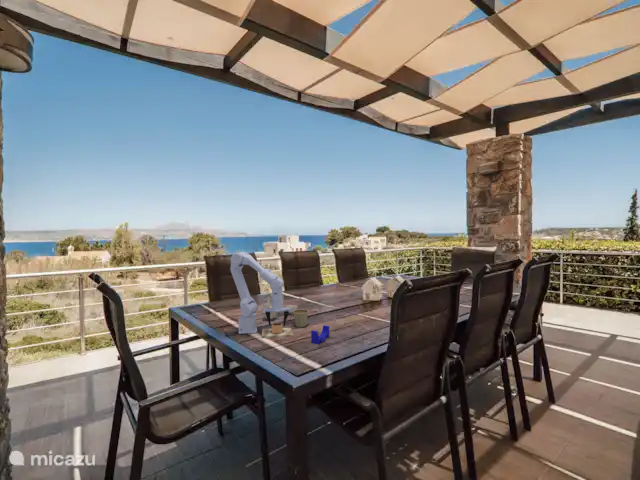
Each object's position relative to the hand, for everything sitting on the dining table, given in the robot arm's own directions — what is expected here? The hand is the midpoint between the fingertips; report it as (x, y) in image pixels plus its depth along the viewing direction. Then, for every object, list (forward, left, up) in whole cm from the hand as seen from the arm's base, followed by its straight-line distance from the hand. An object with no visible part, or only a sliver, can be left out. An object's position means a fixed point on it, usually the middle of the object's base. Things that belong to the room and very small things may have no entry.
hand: (277, 325), depth 177 cm
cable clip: (+22, -13, -5) cm, 26 cm away
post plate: (0, 0, -4) cm, 4 cm away
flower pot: (+14, +12, -5) cm, 19 cm away
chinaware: (+1, +36, -5) cm, 36 cm away
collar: (0, 0, -3) cm, 3 cm away
